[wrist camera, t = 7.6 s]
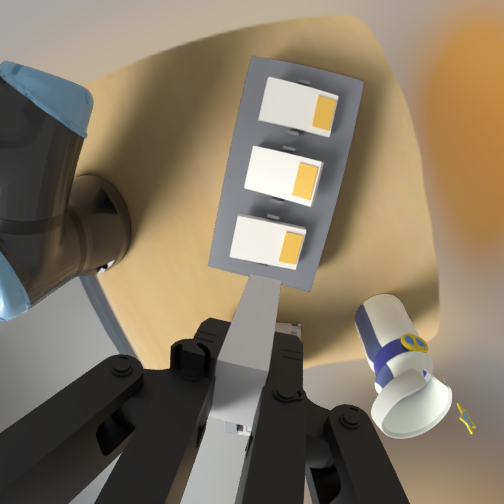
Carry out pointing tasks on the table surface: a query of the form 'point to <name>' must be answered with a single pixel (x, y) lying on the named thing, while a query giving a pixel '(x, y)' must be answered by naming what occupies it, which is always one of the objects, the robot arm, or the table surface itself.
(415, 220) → the table surface
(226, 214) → the panel
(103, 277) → the table surface
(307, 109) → the rocker
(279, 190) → the block
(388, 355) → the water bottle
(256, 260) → the rocker
